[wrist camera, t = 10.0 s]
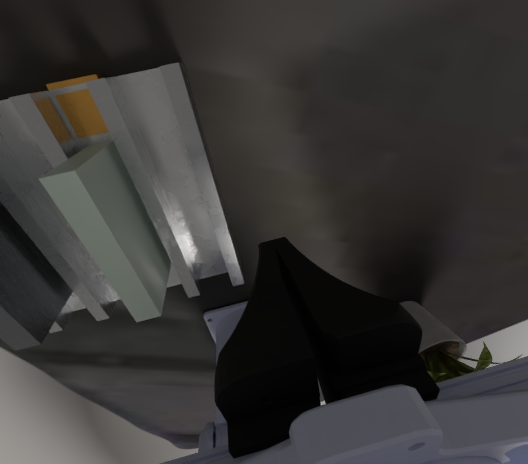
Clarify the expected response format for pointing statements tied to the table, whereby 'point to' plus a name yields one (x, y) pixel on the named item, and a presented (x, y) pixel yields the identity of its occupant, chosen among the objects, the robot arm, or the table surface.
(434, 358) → the house plant
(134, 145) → the rack
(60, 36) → the table surface
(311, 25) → the table surface
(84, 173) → the panel
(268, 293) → the robot arm
